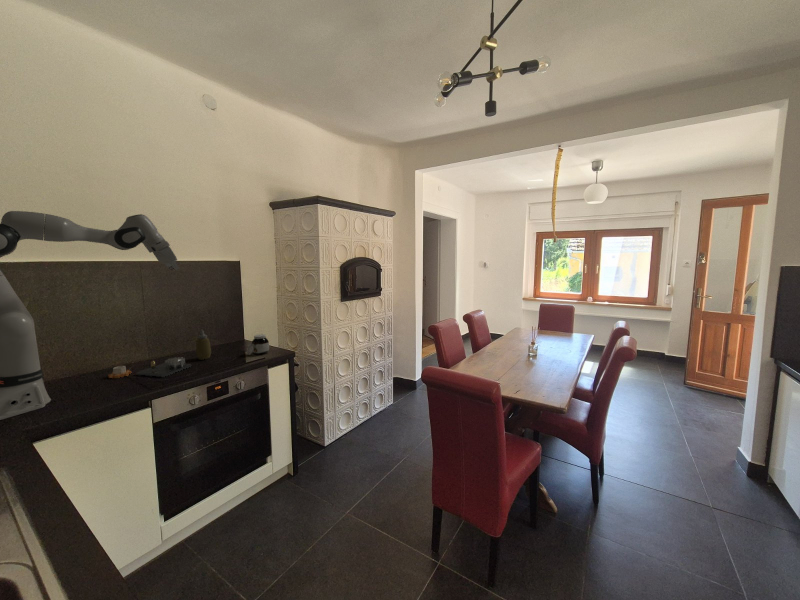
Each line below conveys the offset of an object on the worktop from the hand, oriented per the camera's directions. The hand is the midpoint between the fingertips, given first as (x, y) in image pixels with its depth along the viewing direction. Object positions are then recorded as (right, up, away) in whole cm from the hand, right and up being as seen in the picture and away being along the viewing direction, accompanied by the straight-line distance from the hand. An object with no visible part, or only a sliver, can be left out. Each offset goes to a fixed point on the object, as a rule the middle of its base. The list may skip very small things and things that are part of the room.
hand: (174, 269), depth 168 cm
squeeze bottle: (-2, -51, +28) cm, 59 cm away
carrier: (-10, -54, +7) cm, 55 cm away
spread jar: (+26, -50, +38) cm, 68 cm away
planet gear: (-28, -55, -1) cm, 61 cm away
